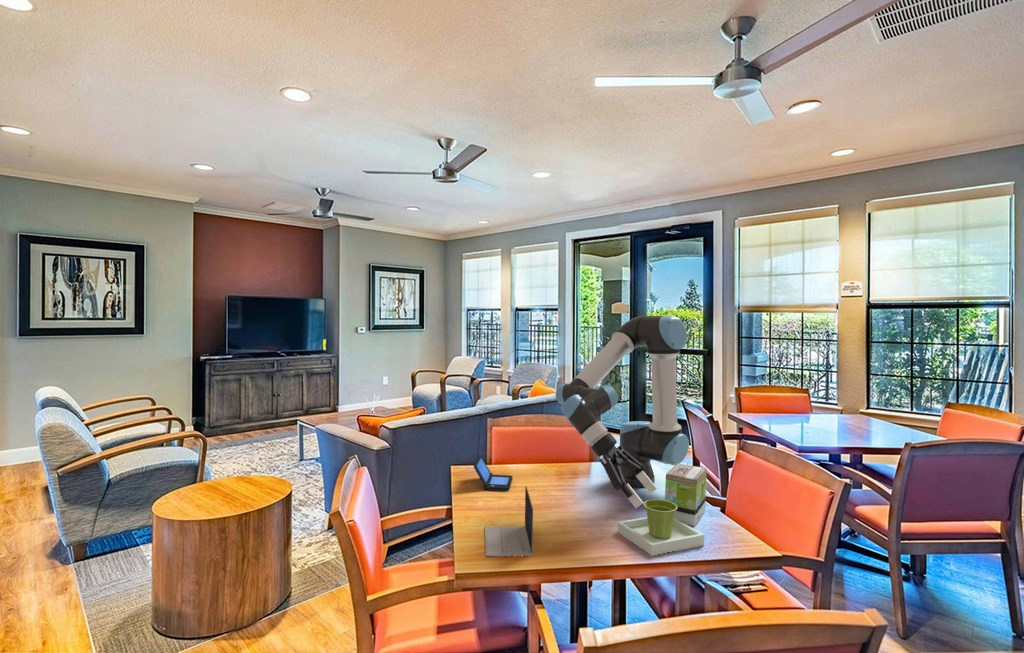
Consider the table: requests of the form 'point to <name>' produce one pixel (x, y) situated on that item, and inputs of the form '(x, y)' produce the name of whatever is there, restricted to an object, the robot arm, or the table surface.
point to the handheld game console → (491, 477)
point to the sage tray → (677, 541)
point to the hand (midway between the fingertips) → (647, 498)
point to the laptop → (512, 536)
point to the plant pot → (660, 517)
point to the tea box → (687, 492)
